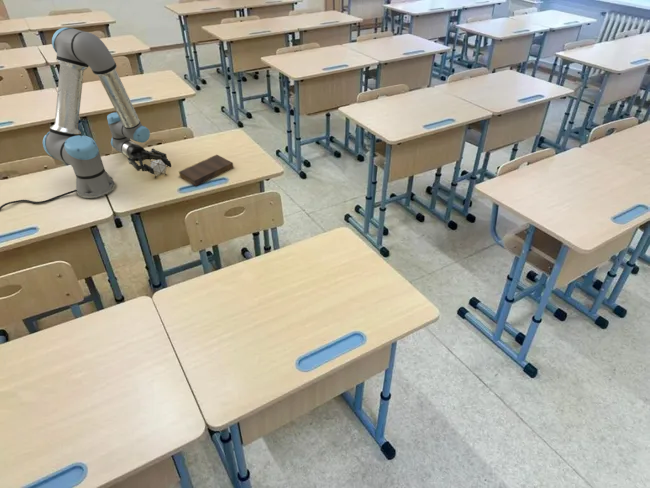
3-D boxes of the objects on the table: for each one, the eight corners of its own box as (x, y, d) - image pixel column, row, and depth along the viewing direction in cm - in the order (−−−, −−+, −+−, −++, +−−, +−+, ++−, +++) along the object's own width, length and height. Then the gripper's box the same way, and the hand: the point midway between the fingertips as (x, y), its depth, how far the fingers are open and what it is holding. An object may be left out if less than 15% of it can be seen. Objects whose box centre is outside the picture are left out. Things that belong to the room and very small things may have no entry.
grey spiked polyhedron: (164, 183, 211) (165, 174, 202) (145, 177, 209) (145, 168, 200) (170, 167, 215) (170, 157, 206) (151, 161, 212) (151, 151, 203)
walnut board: (195, 186, 203) (194, 180, 201) (179, 176, 209) (178, 171, 207) (233, 168, 216) (232, 162, 214) (217, 159, 222) (216, 154, 220)
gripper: (155, 151, 223) (182, 166, 212) (115, 166, 211) (142, 184, 200) (151, 137, 218) (179, 152, 207) (111, 152, 206) (138, 169, 195)
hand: (161, 167), depth 203 cm, fingers closed on grey spiked polyhedron, 8 cm apart
